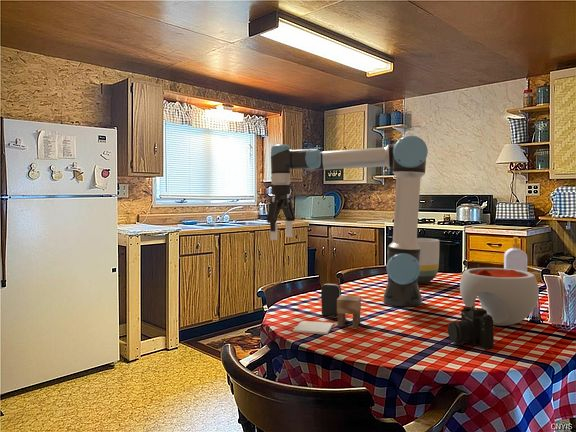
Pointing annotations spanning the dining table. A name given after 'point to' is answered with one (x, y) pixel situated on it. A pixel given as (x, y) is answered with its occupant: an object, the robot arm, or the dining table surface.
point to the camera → (473, 328)
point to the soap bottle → (515, 257)
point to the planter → (428, 259)
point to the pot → (501, 293)
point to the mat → (313, 327)
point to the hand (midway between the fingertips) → (281, 238)
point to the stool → (348, 309)
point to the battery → (330, 298)
